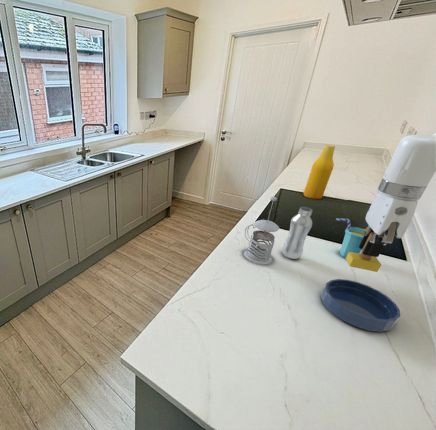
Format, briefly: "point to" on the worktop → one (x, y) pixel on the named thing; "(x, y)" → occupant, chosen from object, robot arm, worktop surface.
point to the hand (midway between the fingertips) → (368, 251)
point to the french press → (259, 252)
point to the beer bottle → (320, 174)
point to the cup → (351, 239)
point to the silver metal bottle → (297, 233)
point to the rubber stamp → (364, 259)
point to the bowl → (360, 305)
